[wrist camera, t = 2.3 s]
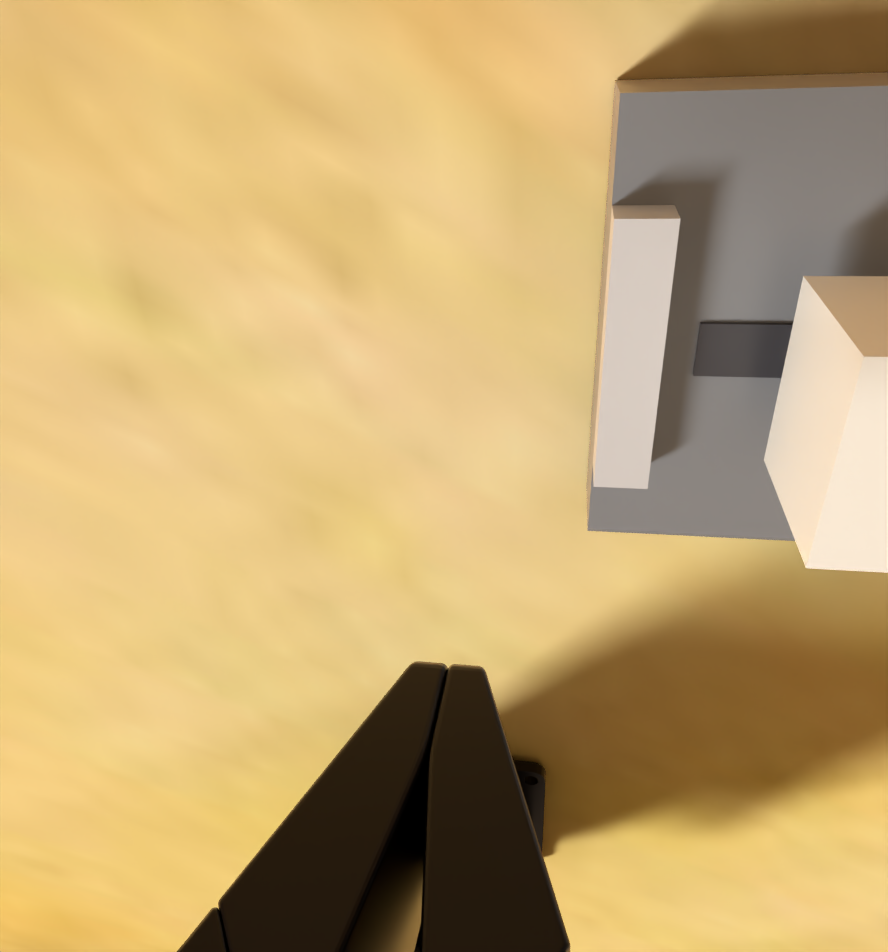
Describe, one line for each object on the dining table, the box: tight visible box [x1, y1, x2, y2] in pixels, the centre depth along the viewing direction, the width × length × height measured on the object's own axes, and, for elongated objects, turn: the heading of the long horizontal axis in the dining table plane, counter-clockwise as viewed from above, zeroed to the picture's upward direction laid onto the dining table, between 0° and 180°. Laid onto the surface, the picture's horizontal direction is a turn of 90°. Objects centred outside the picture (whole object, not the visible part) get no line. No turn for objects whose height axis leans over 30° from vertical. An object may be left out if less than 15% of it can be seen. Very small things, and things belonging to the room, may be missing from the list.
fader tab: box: [764, 276, 888, 573], centre depth 14 cm, size 4×3×4 cm
